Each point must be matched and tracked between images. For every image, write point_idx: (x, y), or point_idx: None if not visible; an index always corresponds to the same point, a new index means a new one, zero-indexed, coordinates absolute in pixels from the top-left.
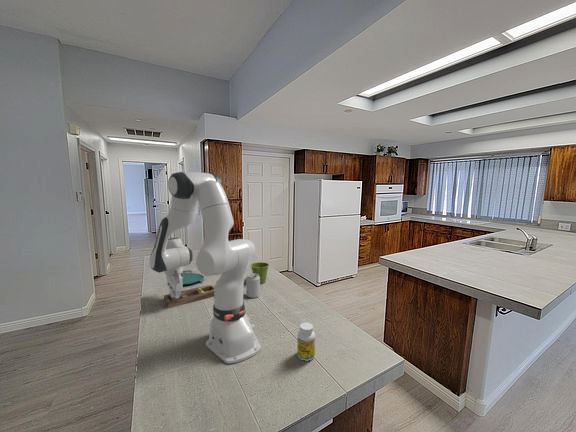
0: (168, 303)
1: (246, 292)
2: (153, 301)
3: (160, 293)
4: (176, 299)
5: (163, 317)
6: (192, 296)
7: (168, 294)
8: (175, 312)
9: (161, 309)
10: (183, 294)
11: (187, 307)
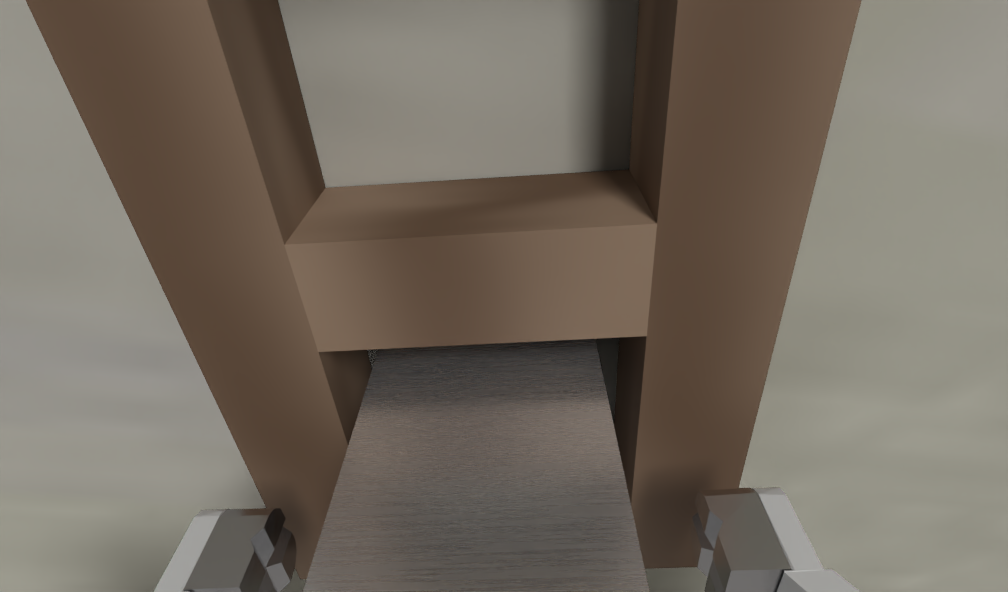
0: None
1: None
2: None
3: (20, 510)
4: (645, 454)
5: (924, 545)
6: (765, 87)
7: (284, 526)
8: (932, 428)
9: None
10: (434, 296)
11: (944, 237)
